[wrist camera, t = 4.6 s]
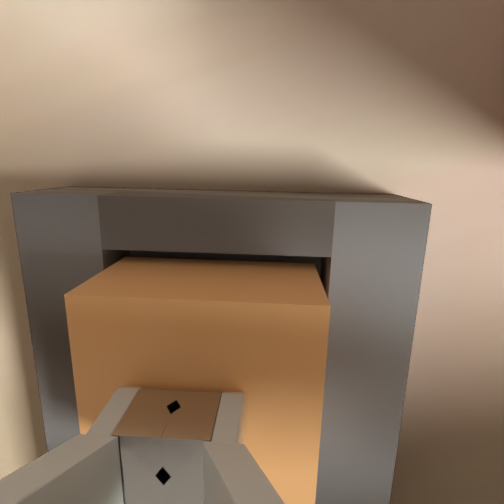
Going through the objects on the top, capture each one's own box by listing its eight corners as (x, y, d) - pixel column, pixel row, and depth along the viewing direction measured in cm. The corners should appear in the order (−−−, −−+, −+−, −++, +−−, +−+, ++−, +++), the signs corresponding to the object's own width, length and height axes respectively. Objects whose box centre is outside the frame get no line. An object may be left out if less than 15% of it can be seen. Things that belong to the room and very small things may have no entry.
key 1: (303, 427, 12) (313, 522, 9) (136, 417, 13) (88, 505, 10) (314, 263, 11) (330, 306, 8) (125, 256, 11) (64, 294, 8)
